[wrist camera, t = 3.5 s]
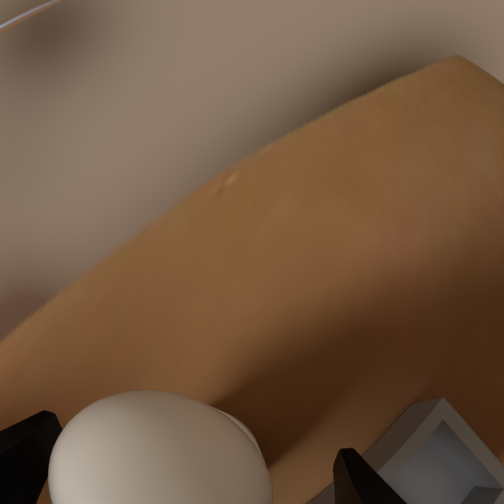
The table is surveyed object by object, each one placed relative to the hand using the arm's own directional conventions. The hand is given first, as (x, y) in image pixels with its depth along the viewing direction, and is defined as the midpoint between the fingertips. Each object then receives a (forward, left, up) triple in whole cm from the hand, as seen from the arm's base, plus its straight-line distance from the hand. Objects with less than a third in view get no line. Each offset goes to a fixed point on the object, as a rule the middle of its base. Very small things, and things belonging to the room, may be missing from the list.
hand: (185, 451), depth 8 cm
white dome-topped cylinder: (-1, -1, -7) cm, 7 cm away
